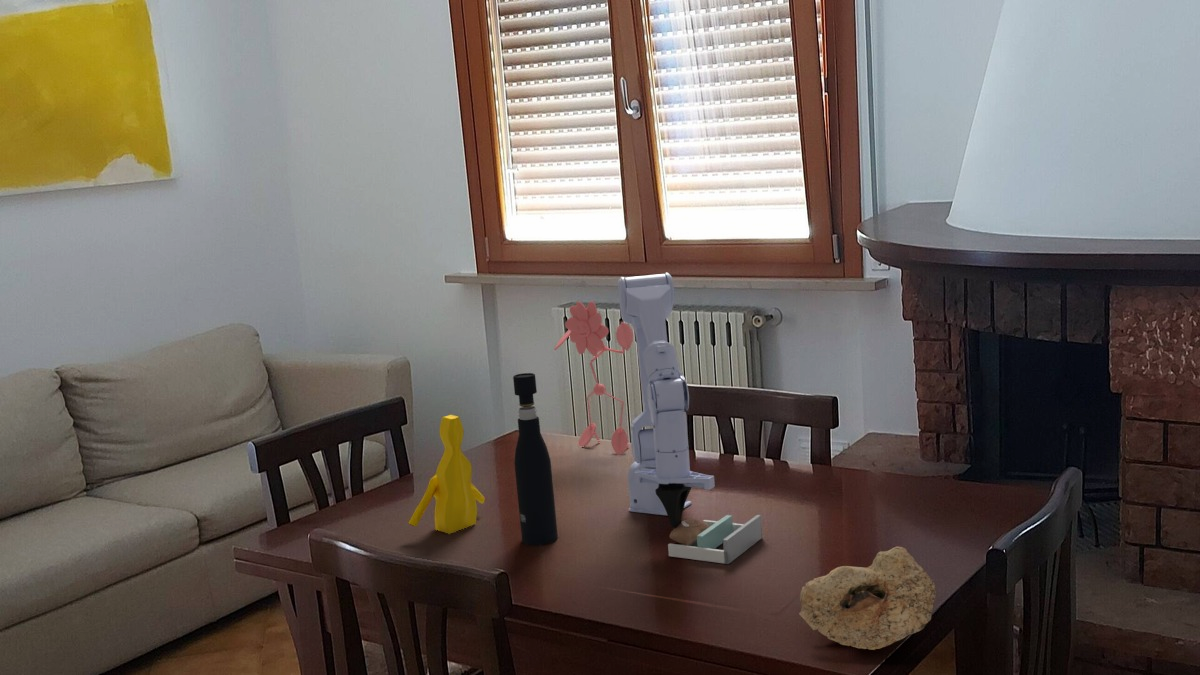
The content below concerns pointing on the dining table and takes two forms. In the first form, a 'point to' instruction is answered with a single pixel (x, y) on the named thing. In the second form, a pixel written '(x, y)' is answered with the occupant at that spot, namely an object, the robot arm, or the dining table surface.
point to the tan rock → (870, 601)
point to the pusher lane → (732, 544)
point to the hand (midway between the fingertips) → (677, 526)
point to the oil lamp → (688, 532)
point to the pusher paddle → (716, 533)
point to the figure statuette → (451, 484)
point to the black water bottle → (533, 470)
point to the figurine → (588, 335)
